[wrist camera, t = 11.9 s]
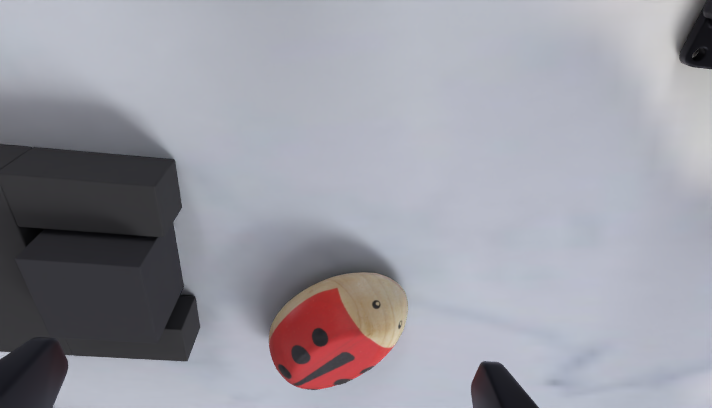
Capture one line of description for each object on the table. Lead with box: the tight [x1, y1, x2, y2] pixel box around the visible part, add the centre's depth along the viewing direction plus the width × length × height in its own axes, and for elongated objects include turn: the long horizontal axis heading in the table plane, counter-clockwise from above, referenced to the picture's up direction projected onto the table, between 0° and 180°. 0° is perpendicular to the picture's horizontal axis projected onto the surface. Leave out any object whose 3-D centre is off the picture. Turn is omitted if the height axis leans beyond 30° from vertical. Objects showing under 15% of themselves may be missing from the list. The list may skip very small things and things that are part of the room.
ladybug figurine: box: [269, 272, 408, 390], centre depth 24 cm, size 7×10×4 cm
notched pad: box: [0, 144, 200, 361], centre depth 21 cm, size 11×12×2 cm
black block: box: [15, 223, 184, 343], centre depth 21 cm, size 5×5×4 cm
